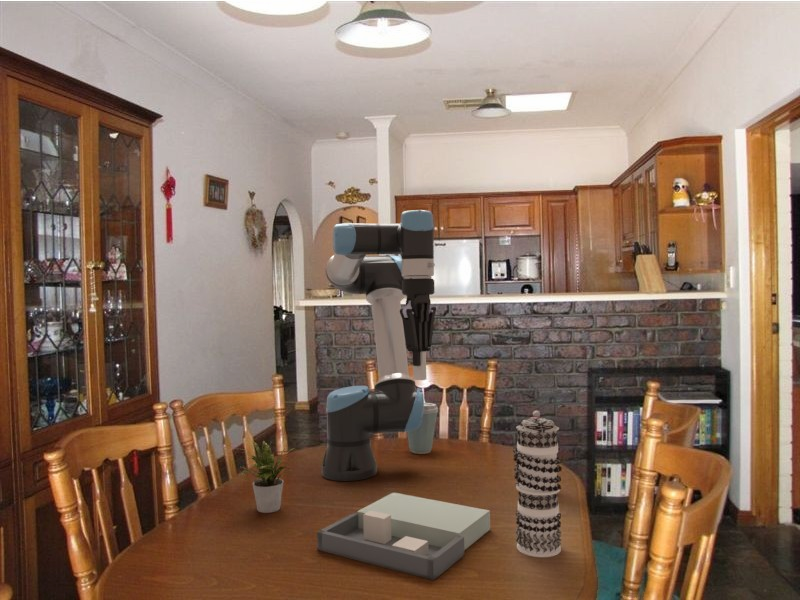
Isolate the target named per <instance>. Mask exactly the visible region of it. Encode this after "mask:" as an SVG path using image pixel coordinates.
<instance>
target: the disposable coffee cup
mask: <svg viewBox="0 0 800 600" xmlns="http://www.w3.org/2000/svg"><path fill="white" fill-rule="evenodd" d="M438 412H439V408H438V406H437V404H436V403H431V402H424V410H423V418H422V422H421V425H420V427H419V428H418V429H417V430H414V431H406V433H407V439H408V440H407V441H408V447H409V450H410V453H413V454H418V455H422V454H423V455H426V454H429V453H431V452H432V449H433V442H434V435H435V430H436V423H437V417H438Z"/></svg>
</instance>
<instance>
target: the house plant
mask: <svg viewBox="0 0 800 600" xmlns="http://www.w3.org/2000/svg"><path fill="white" fill-rule="evenodd" d="M249 440H250V439H249ZM250 442H252V443H253V445H254V447H255V450H256V452H257V453H256V454H257V455H258V457H257V456H256V455H251V454H250V452H249V451H246V449H243V448H241V450H243V452H242V453H244V454H246V455H247V457H249V458H248V459H252V461H253V462H254V463H253V464H252V465H253V466H254V467H256V468H257V470H258V471H256V470H255V469H247V468H246V467H244V466H241V468H243V469H244V470H243V471H242V473H241V474H240V476H242V475H244V474H246V473H251V474H252V475H253V476H254V477H256V480H254V481H253V482H252V489H253V492H254V499H255V505H256V510H257V511H258V512H259V513H263V514H264V513H265V514H268V513H275V512H278V511H279V510H280V509H281V503H282V496H283V495H282V494H283V489H284V480H283V479H282V478H280V477H281V476H282V475H283V474H285V473H286V472H288V471H289V472H290V471H294V470H293V469H287V470H284V471H283V472H282V473H281V471H282V470H283V469H286V468H287V466H285V465H281V466H279V465H280V464H281V463H283V461H285V459H281V458H284V457H285V455H286V454H288V453H289V452H291V451H293V450H294V449H295V447H294V448H291V449H290V450H288V451H287V452H286V453H284V452H285V450H286V447H287V446H285V447H284V448H283V449H282V452H281V453H280V455H279V456H278V458H277V460H276V462H275V454H273V453H272V449H271V445H272V442H273V440H271V441H270V444H268V443H267V442H266V441H265V440H263V441H262V448H260V447H259V446H260V445H258V443H257V442H255V441H253V440H252V439H251V440H250ZM261 449H262V451H261ZM235 450H238V448H236V447H235ZM246 452H247V453H246ZM283 454H285V455H283ZM282 455H283V457H281V456H282ZM274 464H275V465H274ZM252 472H254V473H255V474H253V473H252ZM256 473H257V474H256ZM280 473H281V474H280ZM278 475H279V476H278ZM277 476H278V477H277Z"/></svg>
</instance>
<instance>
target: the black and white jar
mask: <svg viewBox="0 0 800 600" xmlns="http://www.w3.org/2000/svg"><path fill="white" fill-rule="evenodd" d="M533 417H534V416H533ZM515 428H516V429H517V441H516V446H515V447H514V446H513V451H512V453H514V454H513V461H515V465H514V472H515V473H514V474H515V475H514V479H515V480H516V482H515V484H516V485H515V486H516V487H515V489H516V490H517V492H518V495H517V496H518V500H517V510H516V511H515V512H516V513H515V516H517V518H516V521H515V523H516V525H517V527H516V530H515V533H516V538H515V541H516V542H517V543H516V549H517V550H518V551H519V552H520V554H521V553H522V554H523V555H525V556H530V557H532V558H551V557H554V556H557V555H559V554H560V553H562V549H561V548H562V547H561V545H562V539H561V537H562V531H561V530H560V528H561V526H562V522H561V521H560V520H561V519H562V518H561V517H562V514H561V513H560V503H559V492H561V489H562V486H561V485H560V484H559V483H560V482H561V481H562V477H561V476H559V475H558V473H559V472H562V470H563V468H562V466H560V465H559V464H561V463H562V462H563V460H562V458H560V456H558V453H559V451H560V450H561V449H560V447H559V443H558V431H559V430H560V427H559V426H556V424H555V423H554V421H553V420H551V419H550V418H548V417H547V418H546V417H542V418H538V417H534V418H531V417H528V418H527V417H526V418H525V419H523V420H521V423H520V424H519V425H516V427H515Z"/></svg>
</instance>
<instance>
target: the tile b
mask: <svg viewBox="0 0 800 600" xmlns="http://www.w3.org/2000/svg"><path fill="white" fill-rule="evenodd" d="M392 547H393V548H397V549H402V550H406V551H410V552H414V553H418V554H422V555H426V556H427V555H428V554H429V550H428V541H425V540H421V539H416V538H412V537H408V536H405V537H404V538H402V539H401V540H399V541H398V542H396V543H394V544H393V545H392Z"/></svg>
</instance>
